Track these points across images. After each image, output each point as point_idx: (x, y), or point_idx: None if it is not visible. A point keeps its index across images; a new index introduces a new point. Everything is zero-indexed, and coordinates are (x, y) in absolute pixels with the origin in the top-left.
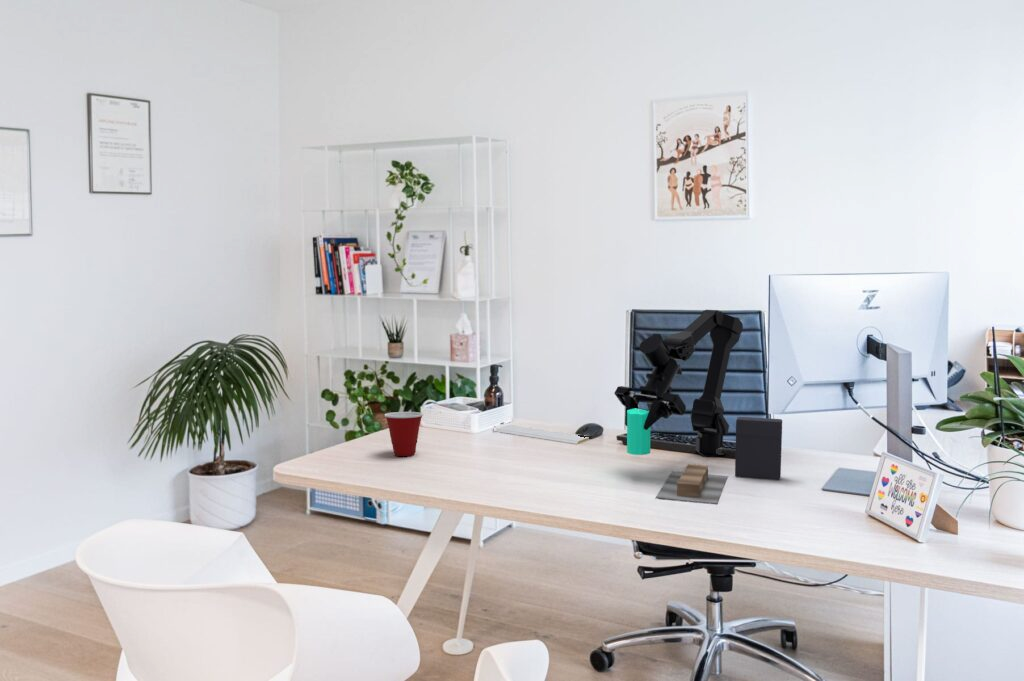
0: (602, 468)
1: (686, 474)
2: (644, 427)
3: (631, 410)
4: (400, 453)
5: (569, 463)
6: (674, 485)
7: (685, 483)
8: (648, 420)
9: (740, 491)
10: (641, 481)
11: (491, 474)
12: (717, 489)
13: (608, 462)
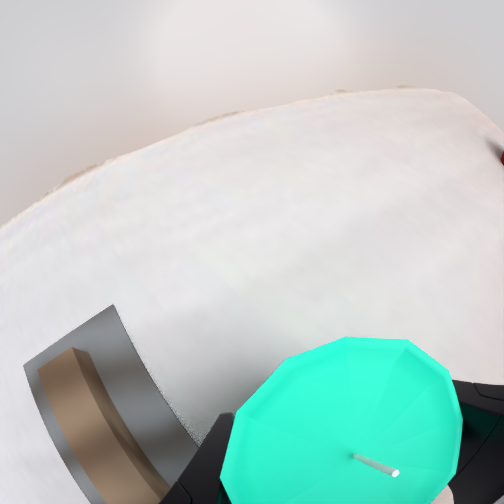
0: None
1: (105, 439)
2: (224, 413)
3: (447, 426)
4: (502, 155)
5: (469, 328)
6: (145, 423)
7: (58, 358)
8: (200, 445)
9: (49, 477)
10: (245, 395)
11: (431, 173)
12: (69, 458)
13: None
